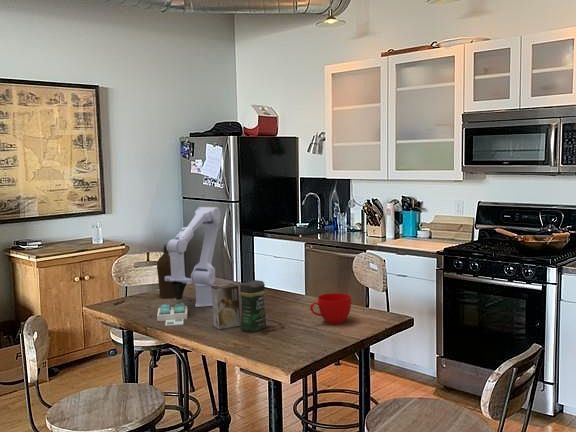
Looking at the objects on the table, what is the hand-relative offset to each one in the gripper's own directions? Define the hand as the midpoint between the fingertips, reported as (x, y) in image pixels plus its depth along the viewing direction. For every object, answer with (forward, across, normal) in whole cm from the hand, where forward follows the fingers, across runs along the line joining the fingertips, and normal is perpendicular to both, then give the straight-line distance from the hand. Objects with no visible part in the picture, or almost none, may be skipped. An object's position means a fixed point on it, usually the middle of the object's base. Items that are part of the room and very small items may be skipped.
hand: (179, 299), depth 251 cm
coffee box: (+7, +29, -3) cm, 30 cm away
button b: (+5, +4, -4) cm, 8 cm away
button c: (+5, -4, -4) cm, 8 cm away
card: (+6, +8, -10) cm, 15 cm away
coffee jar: (+7, +41, -1) cm, 42 cm away
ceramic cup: (+7, +63, +20) cm, 66 cm away
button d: (+5, 0, -8) cm, 10 cm away
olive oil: (+7, -28, +20) cm, 35 cm away
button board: (+6, 0, -4) cm, 8 cm away
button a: (+5, 0, 0) cm, 5 cm away
